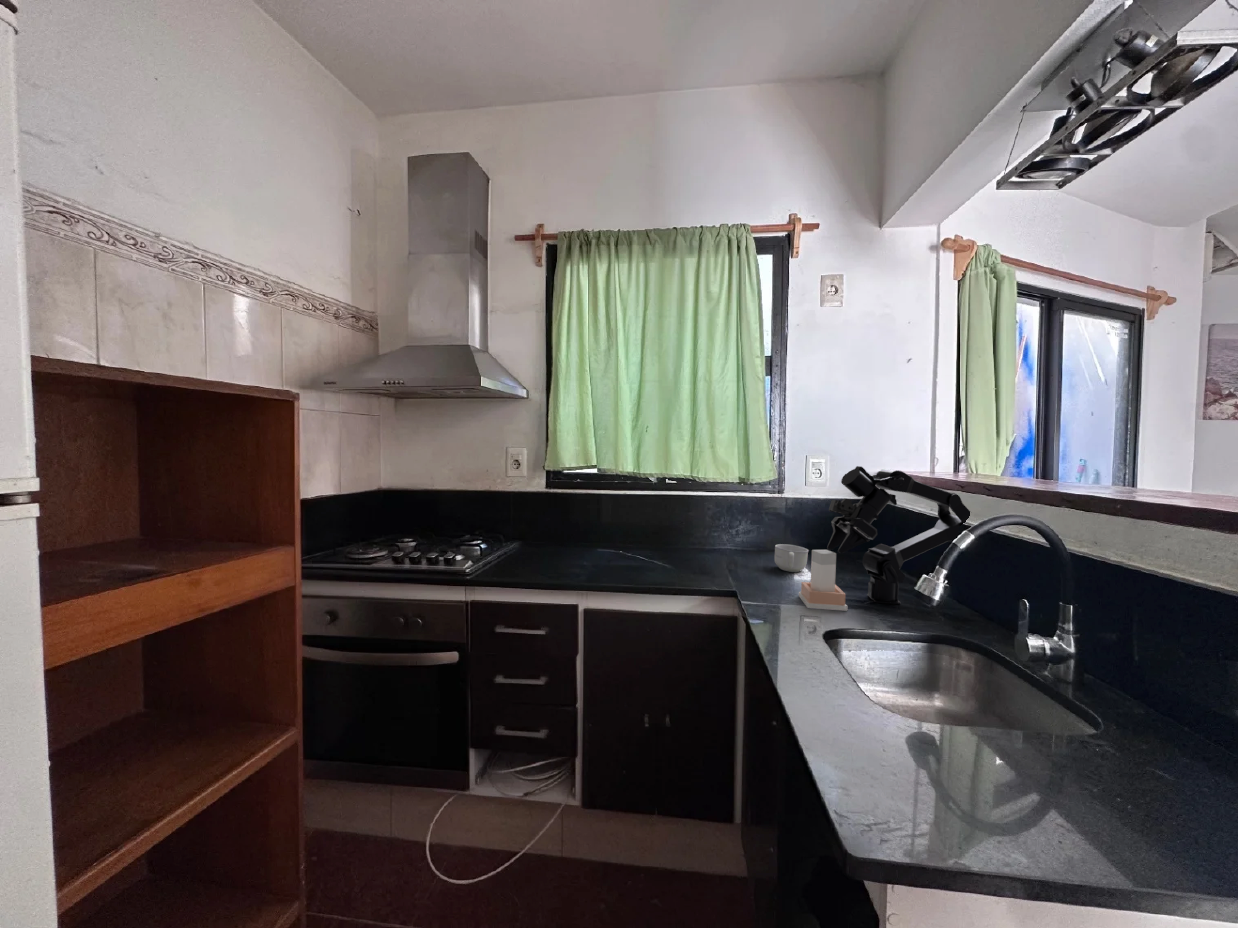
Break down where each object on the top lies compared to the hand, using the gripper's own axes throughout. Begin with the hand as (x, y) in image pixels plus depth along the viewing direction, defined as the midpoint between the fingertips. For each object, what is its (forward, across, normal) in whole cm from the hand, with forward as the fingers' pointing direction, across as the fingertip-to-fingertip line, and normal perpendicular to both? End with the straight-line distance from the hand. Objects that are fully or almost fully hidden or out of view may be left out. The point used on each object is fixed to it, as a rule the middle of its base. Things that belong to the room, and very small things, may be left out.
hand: (833, 550), depth 129 cm
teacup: (+11, -31, +2) cm, 33 cm away
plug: (+12, +1, +5) cm, 13 cm away
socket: (+13, +1, +6) cm, 15 cm away
